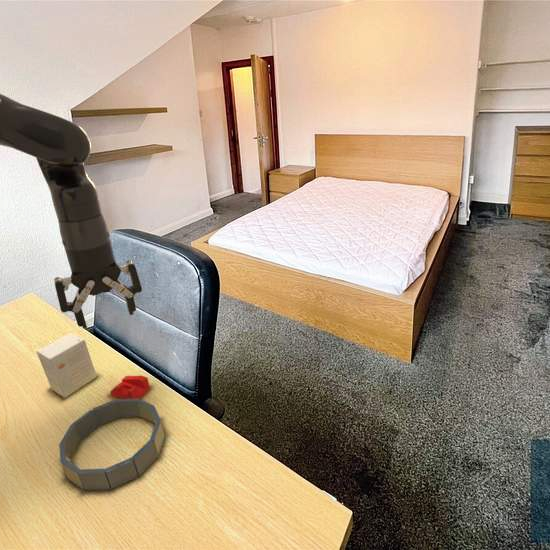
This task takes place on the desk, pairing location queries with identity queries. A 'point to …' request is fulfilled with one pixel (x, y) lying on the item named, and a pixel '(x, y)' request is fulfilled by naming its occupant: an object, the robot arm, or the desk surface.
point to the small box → (67, 364)
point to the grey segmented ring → (119, 471)
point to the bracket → (131, 387)
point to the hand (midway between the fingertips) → (108, 319)
